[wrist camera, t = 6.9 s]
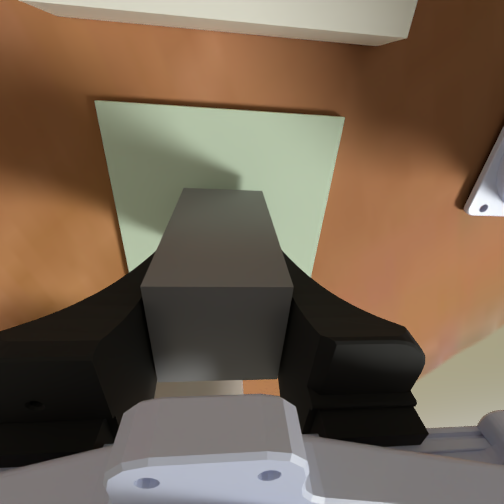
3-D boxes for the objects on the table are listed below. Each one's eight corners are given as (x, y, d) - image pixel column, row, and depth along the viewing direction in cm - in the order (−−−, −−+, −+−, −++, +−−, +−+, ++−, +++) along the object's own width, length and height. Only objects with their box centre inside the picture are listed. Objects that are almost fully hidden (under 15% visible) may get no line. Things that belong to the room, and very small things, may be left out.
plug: (262, 190, 14) (293, 287, 7) (256, 256, 16) (277, 378, 9) (183, 187, 14) (140, 286, 7) (188, 255, 16) (157, 382, 9)
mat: (341, 116, 14) (345, 117, 14) (304, 295, 20) (305, 300, 20) (98, 100, 13) (94, 100, 13) (136, 295, 19) (134, 300, 19)
